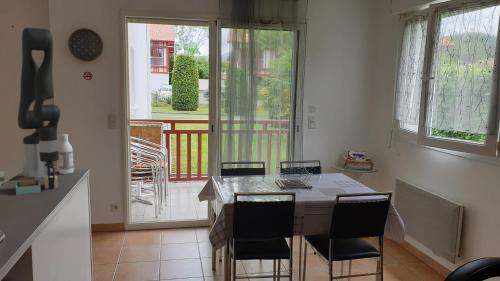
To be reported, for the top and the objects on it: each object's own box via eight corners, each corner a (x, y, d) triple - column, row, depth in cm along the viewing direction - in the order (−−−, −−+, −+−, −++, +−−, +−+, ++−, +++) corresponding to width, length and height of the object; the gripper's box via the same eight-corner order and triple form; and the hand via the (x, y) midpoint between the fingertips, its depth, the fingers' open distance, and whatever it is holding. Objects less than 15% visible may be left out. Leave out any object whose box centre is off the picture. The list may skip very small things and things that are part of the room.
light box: (44, 187, 173) (43, 176, 172) (56, 186, 176) (56, 175, 175) (45, 190, 169) (44, 179, 168) (58, 188, 172) (57, 178, 171)
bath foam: (56, 173, 199) (54, 134, 196) (68, 170, 205) (66, 133, 201) (64, 174, 195) (62, 136, 192) (76, 172, 201) (74, 134, 198)
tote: (16, 189, 169) (15, 181, 169) (39, 186, 174) (38, 179, 173) (16, 196, 160) (15, 188, 159) (40, 193, 165) (40, 185, 164)
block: (20, 189, 168) (19, 177, 167) (35, 187, 171) (34, 176, 170) (20, 192, 163) (19, 181, 162) (36, 190, 166) (35, 179, 165)
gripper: (38, 148, 174) (40, 184, 176) (40, 153, 162) (42, 192, 164) (56, 146, 178) (58, 182, 180) (60, 152, 166) (62, 190, 168)
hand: (51, 187), depth 172 cm, fingers closed on light box, 5 cm apart
